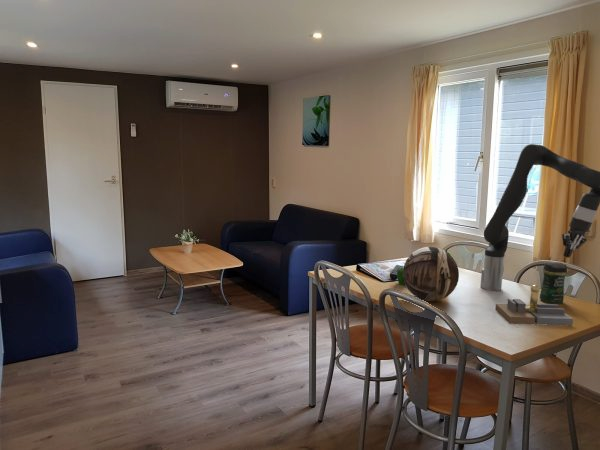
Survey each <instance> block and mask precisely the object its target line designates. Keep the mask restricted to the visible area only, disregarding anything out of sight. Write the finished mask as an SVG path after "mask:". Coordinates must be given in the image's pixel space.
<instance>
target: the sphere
mask: <svg viewBox="0 0 600 450" xmlns="http://www.w3.org/2000/svg"><path fill="white" fill-rule="evenodd" d="M403 264H404V265H403V267H402V268H403V279H404V282H405V287H406V289H407V290H408V292H410V293H411V294H412V295H413V296H414V297H416V298H418V299H419V298H420V300H422V301H427V302H437V301H438V302H439V301H441V300H443V299H445V298H448V297H449V296H450V295H451V294H452V293H453V292H454V291H455V289H457V285H458V282H459V279H460V277H459V276H460V273H459V272H460V271H459V267H458V264H457V262H456V260H455V259H454V258H453V256H452V255H451V254H450V253H449V252H447V251H446V250H444V249H442V248H439V247H434V246H425V247H422V248H418V249H417V250H414V251H413V252H412V253H411V254H410V255H409V256H408V257H407V259H406V260H405V262H404V263H403Z"/></svg>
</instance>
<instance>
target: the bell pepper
mask: <svg viewBox="0 0 600 450" xmlns="http://www.w3.org/2000/svg"><path fill="white" fill-rule="evenodd" d="M403 268H404V267H400V268H399V269H397V271H396V276H397V282H398V283H399V285H401V286H404V285H405V282H404V279H403ZM405 286H406V285H405Z"/></svg>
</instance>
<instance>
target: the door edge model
mask: <svg viewBox="0 0 600 450" xmlns="http://www.w3.org/2000/svg"><path fill="white" fill-rule="evenodd" d="M516 306H517V310H516ZM526 306H530V304H526V302H524V301H523V300H522V299H519V298H512V299H511V298H507V303H495V309H494V310H495V312H497V313H498V314H499V315H500V316H501V317H502V318H503V319H504V320H505V321H506V322H507V323H508V324H509V325H510V324H511V325H512V324H513V325H532V324H534V325H537V324H547V325H546V326H560V325H572V326H573V323H574V318H572V317H571V316H570V315H568V314H567V313H565V311H566V309H565V308H559V307H560V305H559V303H537V307H538V308H537V309H536V312H529V311H525V308H526Z"/></svg>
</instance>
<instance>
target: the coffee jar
mask: <svg viewBox="0 0 600 450" xmlns="http://www.w3.org/2000/svg"><path fill="white" fill-rule="evenodd" d="M567 274H568V266H567V264H565V263H562V262H545V263H544V264H543V281H542V284H541V288H540V289H541V290H540V293H539V299H540V300H541V301H542V302H544V303H546V304H562V303H563V302H564V297H565V295H564V294H565V292H564V290H565V279H566V276H567Z"/></svg>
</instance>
